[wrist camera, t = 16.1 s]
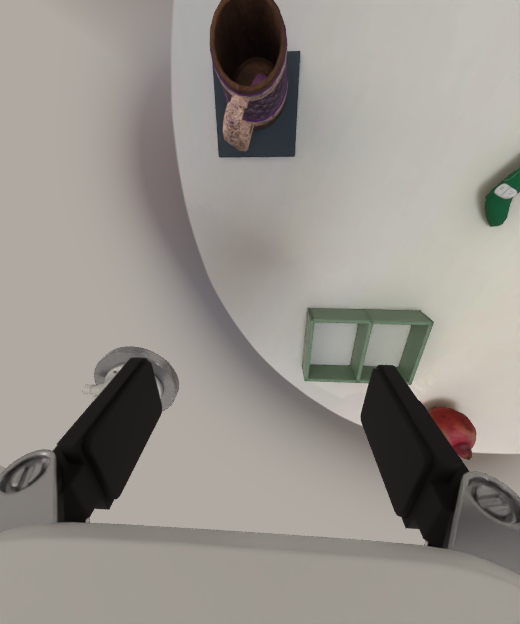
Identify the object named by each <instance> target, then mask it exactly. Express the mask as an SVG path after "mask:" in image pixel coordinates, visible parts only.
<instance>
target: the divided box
mask: <svg viewBox="0 0 520 624" xmlns="http://www.w3.org/2000/svg"><path fill="white" fill-rule="evenodd" d="M314 322H317V323H359V325H358V330H357V335H356V340H355V345H354V350H353V354H352V359H351V364H350V366H338V365H310V356H311V347H312V338H313V329H314ZM433 323H434V322H433V321H432V320H431V319H430V318H428V317H427V316H426V315H425V314H424V313H422V312H421V311H413V310H365V309H315V308H308V311H307V322H306V332H305V343H304V354H303V364H302V368H303V375H304V381H320V382H349V383H369V381H370V377H371V373H372V370H373V369H374V368H377V367H369V366H363V363H364V359H365V355H366V351H367V346H368V342H369V338H370V334H371V329H372V325H373V324H403V325H412V327H411V330H410V334H409V337H408V340H407V343H406V346H405V349H404V352H403V356H402V359H401V362H400V365H399V367H396V369H397V370H398V372H399V373H400V374H401V376H402V377H403V379H404V380H405V382H406V383H407V385H411V384H412V381H413V378H414V376H415V373H416V370H417V367H418V365H419V362H420V359H421V356H422V354H423V351H424V348H425V345H426V343H427V340H428V337H429V334H430V332H431V329H432V326H433Z"/></svg>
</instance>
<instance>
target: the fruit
mask: <svg viewBox="0 0 520 624" xmlns="http://www.w3.org/2000/svg"><path fill="white" fill-rule="evenodd" d="M429 414H430V415H431V417H432V418H433V420H434V421H435V423H436V424H437V425H438V427H439V428H440V430H441V431H442V433H443V434H444V436H445V437H446V438H447V440H448V441H449V443H450V444H451V446H452V447H453V449H454V450H455V451H456V453H457V454H458V455H459V456H461V457H462V458H464V459H467V460H469V459H471V458H472V451H471V449H472V448H473V446H474V444H475V441H476V430H475V427H474V426H473V424H472V423H471V422H470V420H469V419H468V417H466V416H465V415H464V414H462V413H460V412H458V411H456V410H453V409H451V408H446V407H435V408H433V409H431V410H430V411H429Z"/></svg>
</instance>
